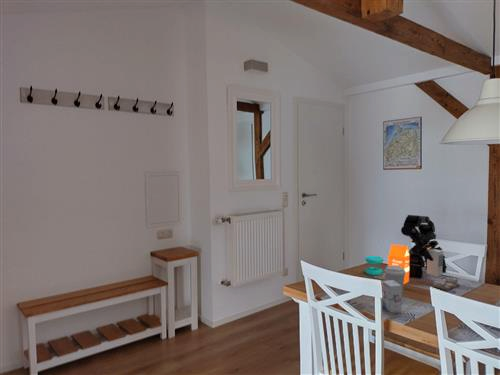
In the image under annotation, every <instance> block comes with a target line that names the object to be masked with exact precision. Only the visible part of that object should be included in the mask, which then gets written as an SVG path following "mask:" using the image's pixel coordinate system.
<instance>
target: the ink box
mask: <svg viewBox="0 0 500 375" xmlns="http://www.w3.org/2000/svg"><path fill="white" fill-rule="evenodd" d="M383 292H384V296H383V295H382V307H383V308H384V309H386V310H387V311H388V312H390V313H391V314H392V313H398V314H399V313H402V301H401V285H400V284H398V283H397V282H395V281H394V280H387V281H386V280H382V293H383Z"/></svg>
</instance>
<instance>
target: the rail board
mask: <svg viewBox="0 0 500 375" xmlns="http://www.w3.org/2000/svg"><path fill="white" fill-rule="evenodd" d="M458 282H459V280H458V279H457V278H453V277H450V276H447V277H445V281H440V280H434V281H433V285H431V288H432V287H434V288H437V289H440V290H439V291H441V290H443V291H442V292H445V291H446V292H448V291H451V290H454V289H456V288H460V284H459V283H458ZM437 289H436V290H437Z"/></svg>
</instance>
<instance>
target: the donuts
mask: <svg viewBox="0 0 500 375" xmlns="http://www.w3.org/2000/svg"><path fill="white" fill-rule="evenodd" d="M364 259H365V262H366V263H367V264H370V265H381V264H382V263H384V258H382V257H381V256H379V255H378V256H377V255H369V256H366V257H365V258H364ZM364 271H365V274H367V275H368V276H376V277H377V276H382V275H383V274H384V270H383V269H382V268H380V267H378V266H377V267H376V266H369V267H367V268H365V270H364Z"/></svg>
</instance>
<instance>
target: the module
mask: <svg viewBox="0 0 500 375" xmlns="http://www.w3.org/2000/svg"><path fill="white" fill-rule="evenodd" d="M428 252H429V254H430V255H431V257H432V258H433V261H431V260H429V259H427V270H426V274H428V275H431V276H435V277H440V276H442V275H443V273H442V268H443V255H444V250H443V249H442V250H437V249H433V248H432V249H428Z"/></svg>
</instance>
